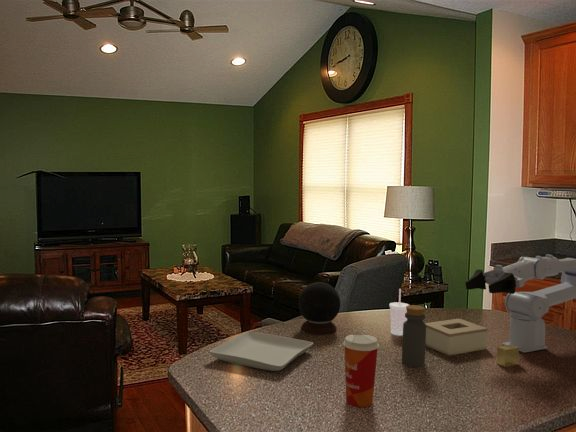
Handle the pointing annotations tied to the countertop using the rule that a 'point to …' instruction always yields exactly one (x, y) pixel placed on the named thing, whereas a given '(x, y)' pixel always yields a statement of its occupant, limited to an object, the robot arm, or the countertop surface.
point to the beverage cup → (397, 316)
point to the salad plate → (261, 350)
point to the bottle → (414, 337)
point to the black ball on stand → (319, 308)
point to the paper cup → (360, 369)
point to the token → (507, 355)
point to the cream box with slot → (455, 336)
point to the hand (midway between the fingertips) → (478, 287)
